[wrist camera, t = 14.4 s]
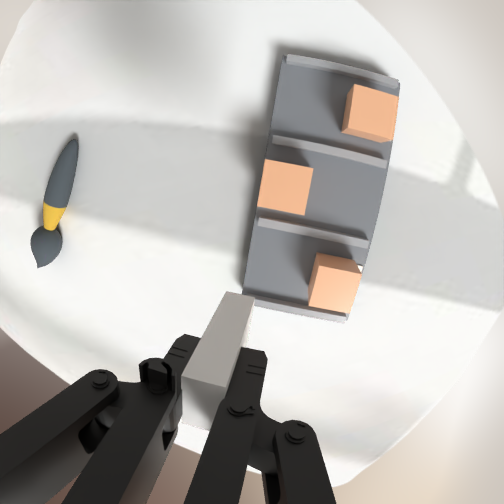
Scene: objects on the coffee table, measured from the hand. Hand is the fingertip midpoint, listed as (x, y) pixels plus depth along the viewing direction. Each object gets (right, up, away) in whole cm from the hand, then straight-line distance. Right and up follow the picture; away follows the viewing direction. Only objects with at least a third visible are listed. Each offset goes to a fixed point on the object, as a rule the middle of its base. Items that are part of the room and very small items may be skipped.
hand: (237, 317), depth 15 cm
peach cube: (+4, +10, +12) cm, 16 cm away
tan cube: (+9, +1, +14) cm, 17 cm away
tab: (+11, +16, +9) cm, 22 cm away
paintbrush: (-26, +10, +20) cm, 35 cm away
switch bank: (+8, +10, +14) cm, 19 cm away
